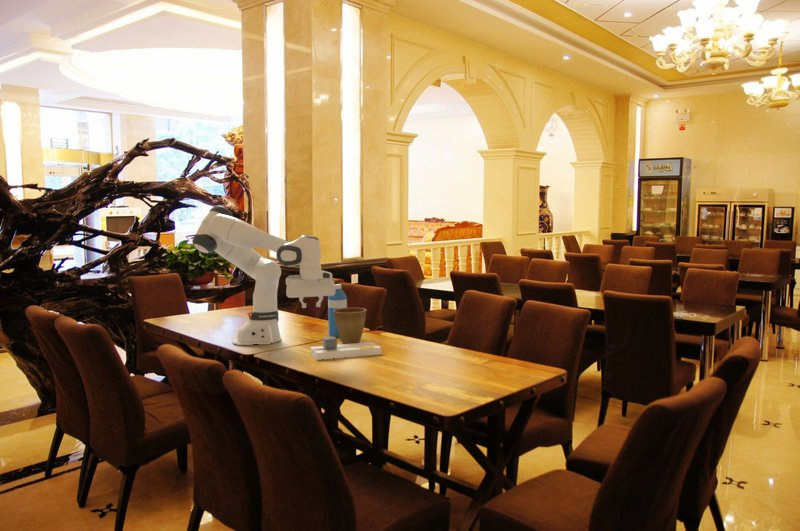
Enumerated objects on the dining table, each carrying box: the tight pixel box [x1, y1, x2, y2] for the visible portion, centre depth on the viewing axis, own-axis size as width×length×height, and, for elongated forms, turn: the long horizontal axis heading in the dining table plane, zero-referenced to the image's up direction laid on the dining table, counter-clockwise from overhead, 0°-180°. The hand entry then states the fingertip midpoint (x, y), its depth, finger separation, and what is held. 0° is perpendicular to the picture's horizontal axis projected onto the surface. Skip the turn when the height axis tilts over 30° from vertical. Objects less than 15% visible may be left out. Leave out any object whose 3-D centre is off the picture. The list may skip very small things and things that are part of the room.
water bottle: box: [327, 283, 348, 338], centre depth 305 cm, size 9×9×25 cm
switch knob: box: [321, 336, 338, 350], centre depth 263 cm, size 5×5×6 cm
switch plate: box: [310, 341, 382, 361], centre depth 266 cm, size 28×12×3 cm, turn 110°
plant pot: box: [334, 307, 367, 344], centre depth 284 cm, size 15×15×16 cm
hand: (311, 307), depth 259 cm, fingers open, 5 cm apart
